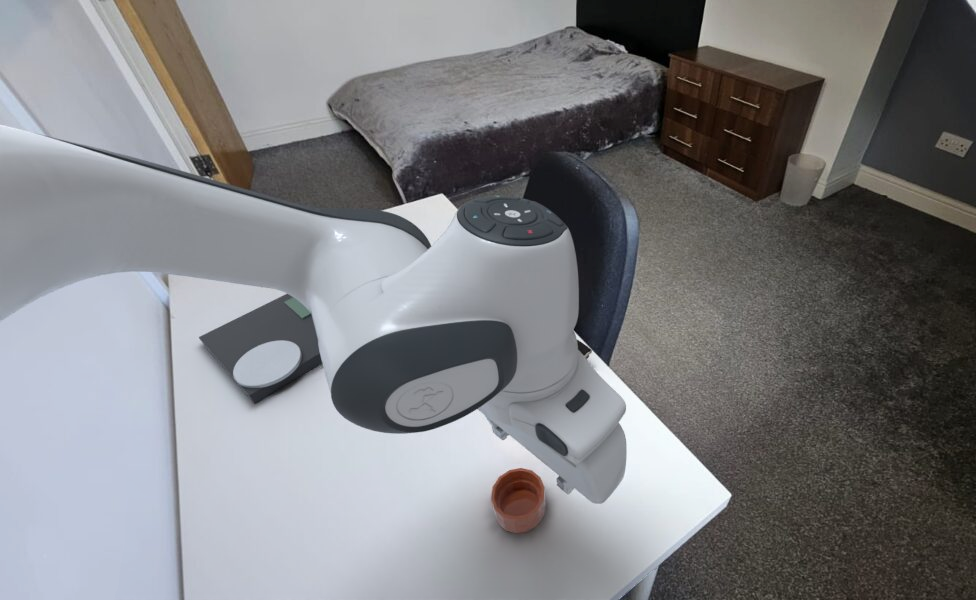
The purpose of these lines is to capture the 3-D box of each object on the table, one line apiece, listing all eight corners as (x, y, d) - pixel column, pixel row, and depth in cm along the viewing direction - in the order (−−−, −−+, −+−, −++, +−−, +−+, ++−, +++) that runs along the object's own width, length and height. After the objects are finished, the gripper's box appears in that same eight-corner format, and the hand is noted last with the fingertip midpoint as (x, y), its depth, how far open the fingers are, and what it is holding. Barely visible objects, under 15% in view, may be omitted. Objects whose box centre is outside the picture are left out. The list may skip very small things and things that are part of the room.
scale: (257, 407, 75) (249, 396, 73) (204, 345, 85) (196, 334, 83) (379, 332, 88) (375, 321, 86) (321, 286, 98) (316, 275, 96)
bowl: (521, 546, 60) (518, 531, 57) (484, 511, 63) (480, 495, 60) (556, 505, 64) (555, 489, 61) (519, 475, 67) (517, 458, 64)
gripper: (422, 336, 44) (448, 422, 53) (594, 468, 34) (589, 546, 43) (475, 302, 47) (490, 388, 56) (643, 413, 38) (628, 495, 47)
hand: (534, 457), depth 50 cm, fingers open, 8 cm apart
